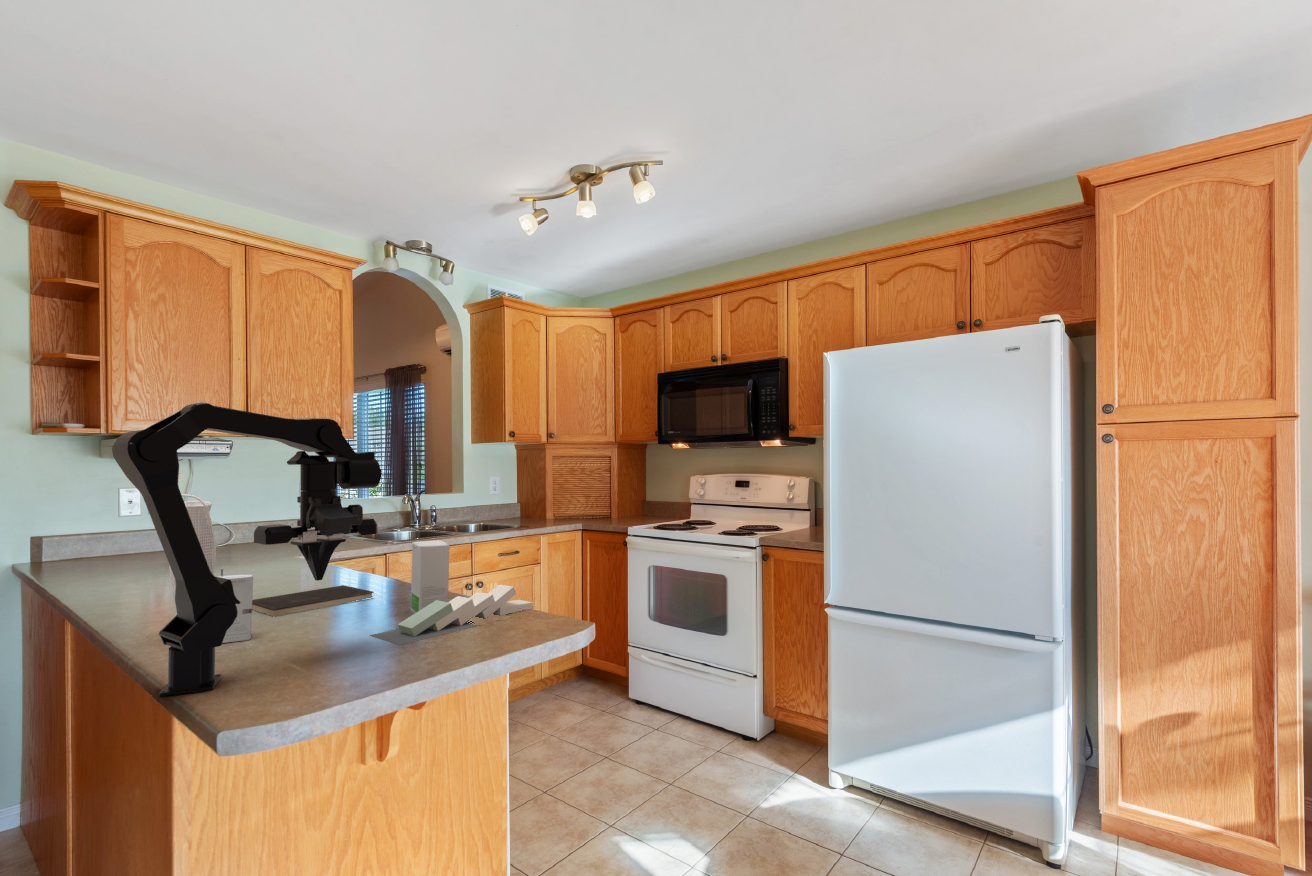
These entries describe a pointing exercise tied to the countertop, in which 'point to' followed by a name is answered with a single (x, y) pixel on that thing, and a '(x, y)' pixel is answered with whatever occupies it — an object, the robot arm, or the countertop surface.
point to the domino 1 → (425, 618)
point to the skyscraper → (200, 533)
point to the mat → (402, 638)
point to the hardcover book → (309, 600)
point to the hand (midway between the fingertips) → (318, 580)
